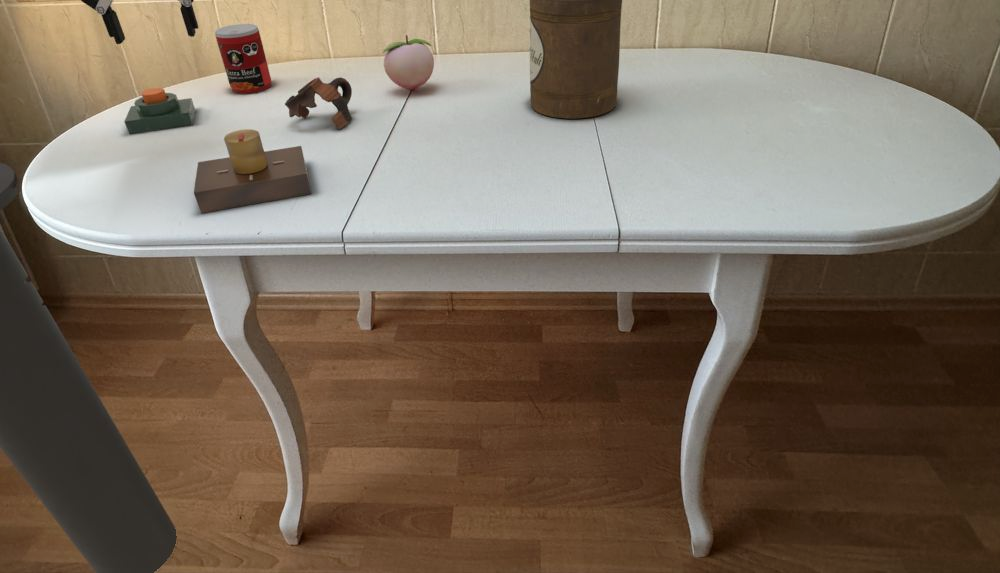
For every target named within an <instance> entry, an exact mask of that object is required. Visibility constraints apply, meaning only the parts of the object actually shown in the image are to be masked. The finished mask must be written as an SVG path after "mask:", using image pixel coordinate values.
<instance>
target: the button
mask: <svg viewBox="0 0 1000 573" xmlns="http://www.w3.org/2000/svg"><path fill="white" fill-rule="evenodd" d="M166 93H167V92H166V90H165V88H162V87H153V88H148V89H145V90H143V91H141V94H140V95H141V97H143V100H144V102H145V103H157V102H161V101H164V100H166V99H167V96H166Z"/></svg>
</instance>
